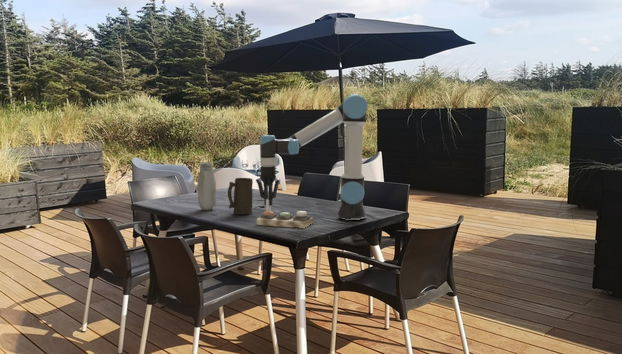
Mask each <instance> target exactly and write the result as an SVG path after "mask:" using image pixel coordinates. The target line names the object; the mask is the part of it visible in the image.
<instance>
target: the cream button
mask: <svg viewBox="0 0 622 354" xmlns="http://www.w3.org/2000/svg"><path fill="white" fill-rule="evenodd" d="M296 215H297V216H298V217H305V216H307V211H305V210H298V211H296Z"/></svg>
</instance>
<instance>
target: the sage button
mask: <svg viewBox="0 0 622 354" xmlns="http://www.w3.org/2000/svg"><path fill="white" fill-rule="evenodd" d="M290 214H291V213H290V212H288V211H285V212H284V211H283V212H280V213H279V215H280V216H283V217H289V216H290Z"/></svg>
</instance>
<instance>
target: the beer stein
mask: <svg viewBox="0 0 622 354" xmlns="http://www.w3.org/2000/svg"><path fill="white" fill-rule="evenodd" d="M253 183H254V180H253V178H250V177H237V178H236V177H235V179H234V182H233V181H230V182H229V185H228V189H227V199H228V202H229V205H228V209H233V214H236V215H252V214H253ZM233 188H234V190H233ZM232 190H233V193H232ZM232 194H233V196H232Z"/></svg>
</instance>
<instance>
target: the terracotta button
mask: <svg viewBox="0 0 622 354" xmlns="http://www.w3.org/2000/svg"><path fill="white" fill-rule="evenodd" d="M274 213H275V212H274V211H272V210H271V212H266V211H263V214H264V215H268V216H272V215H274Z"/></svg>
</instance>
